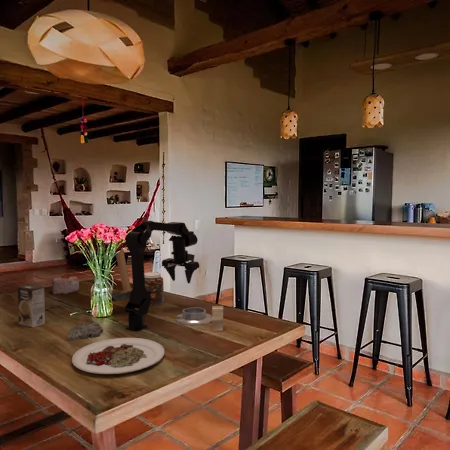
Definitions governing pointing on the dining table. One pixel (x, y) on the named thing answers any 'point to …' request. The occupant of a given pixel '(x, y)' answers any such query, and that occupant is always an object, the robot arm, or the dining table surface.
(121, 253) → the hammer
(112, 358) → the plated food
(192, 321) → the steel rosette
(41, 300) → the coffee box
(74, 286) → the food item
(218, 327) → the wedge pin
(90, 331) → the stone slab
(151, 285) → the jar
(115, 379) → the dining table surface
